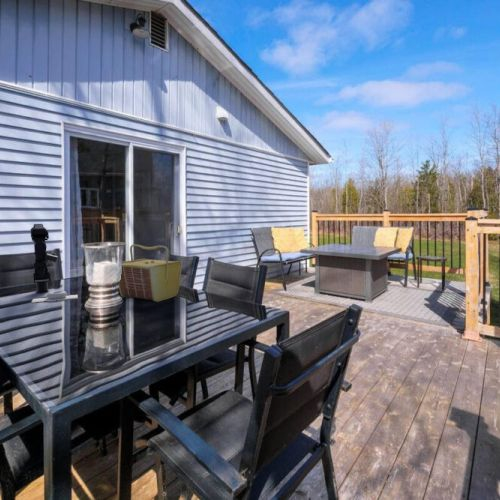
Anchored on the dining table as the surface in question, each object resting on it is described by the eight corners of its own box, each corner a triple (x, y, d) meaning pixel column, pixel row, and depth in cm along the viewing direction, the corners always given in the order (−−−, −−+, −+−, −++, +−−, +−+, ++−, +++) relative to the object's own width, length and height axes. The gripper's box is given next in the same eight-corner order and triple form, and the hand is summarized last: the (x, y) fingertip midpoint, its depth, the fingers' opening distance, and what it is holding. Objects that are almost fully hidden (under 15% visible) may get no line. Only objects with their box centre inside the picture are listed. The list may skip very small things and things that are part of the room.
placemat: (33, 299, 188) (33, 298, 188) (77, 295, 198) (77, 294, 198) (31, 303, 181) (31, 302, 181) (77, 298, 191) (77, 297, 191)
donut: (65, 289, 197) (68, 292, 189) (65, 294, 197) (68, 298, 189) (45, 291, 191) (47, 294, 183) (45, 297, 191) (47, 301, 183)
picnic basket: (114, 298, 190) (111, 245, 187) (147, 290, 213) (146, 242, 210) (152, 305, 177) (151, 247, 174) (184, 295, 199) (183, 244, 196)
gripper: (56, 251, 188) (57, 278, 190) (56, 247, 204) (58, 273, 206) (32, 252, 182) (34, 280, 184) (35, 248, 199) (36, 274, 201)
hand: (42, 277), depth 194 cm, fingers closed
